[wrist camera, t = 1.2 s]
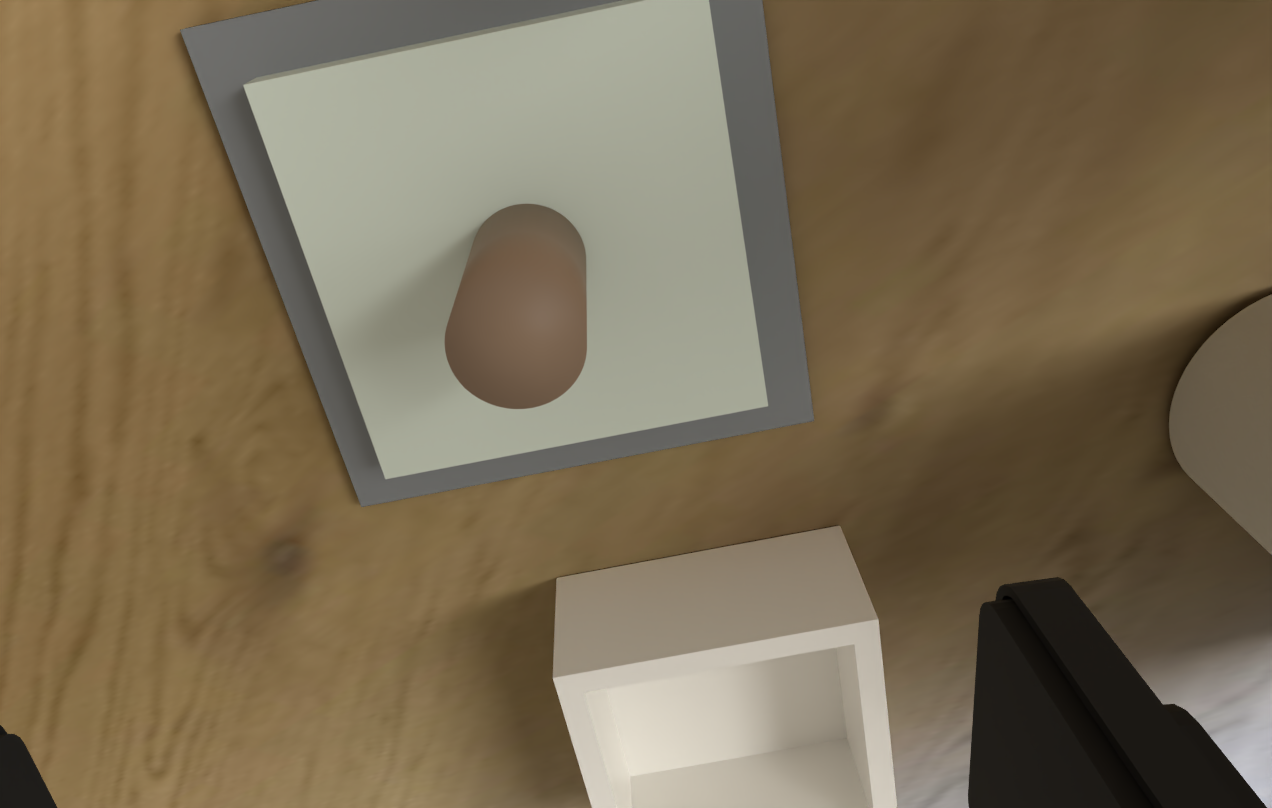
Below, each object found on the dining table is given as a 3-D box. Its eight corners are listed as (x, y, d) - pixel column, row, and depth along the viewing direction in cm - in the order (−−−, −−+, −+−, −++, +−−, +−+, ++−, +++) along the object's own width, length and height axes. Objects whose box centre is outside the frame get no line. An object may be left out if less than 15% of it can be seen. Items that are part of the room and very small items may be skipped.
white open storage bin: (839, 525, 34) (878, 619, 30) (864, 734, 39) (900, 842, 34) (556, 578, 35) (552, 678, 30) (613, 778, 39) (617, 891, 35)
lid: (701, -17, 26) (740, 12, 19) (761, 388, 31) (807, 515, 25) (256, 77, 26) (152, 135, 20) (391, 459, 32) (343, 601, 25)
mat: (748, -92, 25) (751, -92, 25) (811, 415, 32) (814, 420, 32) (185, 28, 26) (179, 30, 26) (363, 500, 33) (361, 506, 33)
